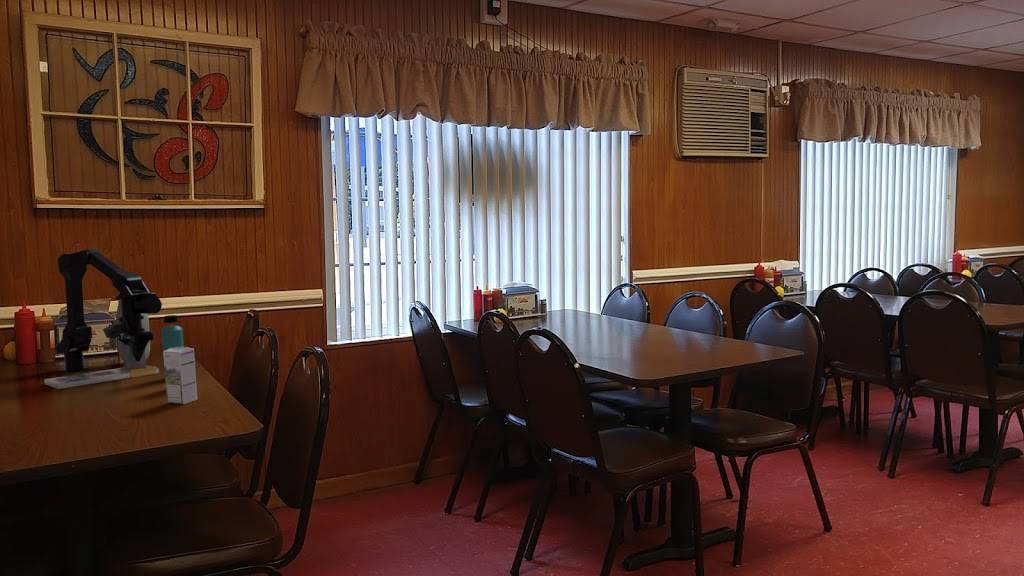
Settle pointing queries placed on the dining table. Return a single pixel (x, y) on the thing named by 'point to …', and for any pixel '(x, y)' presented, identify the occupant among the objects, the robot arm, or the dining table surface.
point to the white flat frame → (98, 377)
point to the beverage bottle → (171, 334)
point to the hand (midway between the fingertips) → (134, 360)
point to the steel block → (132, 358)
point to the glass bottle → (144, 325)
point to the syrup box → (180, 375)
